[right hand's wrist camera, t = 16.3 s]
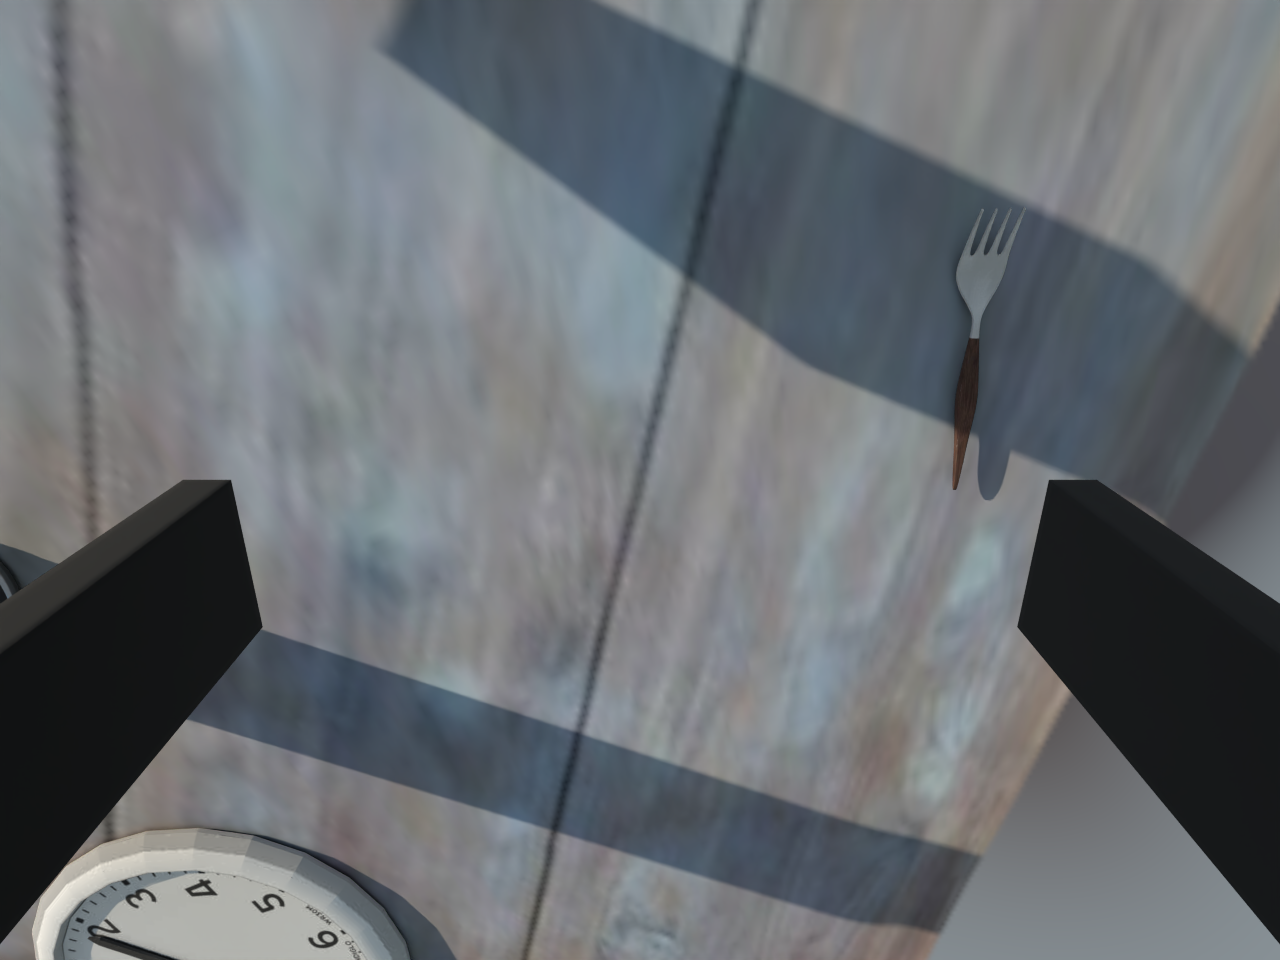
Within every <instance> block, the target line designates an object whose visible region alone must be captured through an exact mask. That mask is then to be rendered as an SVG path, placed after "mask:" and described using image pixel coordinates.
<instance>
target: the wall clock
mask: <svg viewBox="0 0 1280 960" xmlns="http://www.w3.org/2000/svg"><path fill="white" fill-rule="evenodd" d="M32 934H33V941H34V948H35V954H36V960H411V959H410V956H409V952H408V948H407V944H406V941H405V940H404V938H403V937H402V935H401V934H400V932H399V931H398V929H397V928H396V926H395V925H394V923H393V922H392V920H391V919H390V917H389V915H388V914H387V912H386V911H385V909H384V908H383V907H382V906H381V905H379V904H378V903H377V902H376V901H375V900H374V899H373V898H372V897H371V896H369V895H368V894H367V893H366V892H365V891H364V890H363V889H362V888H360V887H359V886H358V885H357V884H356V883H355V882H354V881H353V880H352V879H350V878H349V877H347V876H346V875H344V874H342V873H340V872H338V871H337V870H335V869H333V868H331V867H330V866H328V865H326V864H324V863H323V862H321V861H319V860H317V859H315V858H314V857H312V856H310V855H308V854H307V853H305V852H302V851H299V850H296V849H293V848H290V847H287V846H284V845H281V844H278V843H275V842H272V841H269V840H266V839H263V838H260V837H257V836H254V835H246V834H239V833H232V832H225V831H218V830H211V829H203V828H190V829H172V830H155V831H145V832H142V833H138V834H135V835H131V836H128V837H124V838H121V839H118V840H114V841H111V842H107V843H104V844H101V845H99V846H98V847H96V848H95V849H93V850H91V851H90V852H88V853H87V854H85V855H83V856H82V857H80V858H78V859H77V860H75V861H74V862H72V863H70V864H69V865H67V866H66V867H65V868H64V870H63V871H62V872H61V873H60V875H59V876H58V877H57V879H56V880H55V881H54V882H53V884H52V885H51V886H50V887H49V889H48V890H47V891H46V892H45V894H44V895H43V896H42V897H41V899H40V903H39V907H38V910H37V914H36V918H35V922H34V926H33V929H32Z"/></svg>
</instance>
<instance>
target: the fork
mask: <svg viewBox="0 0 1280 960" xmlns="http://www.w3.org/2000/svg"><path fill="white" fill-rule="evenodd" d="M1011 210H1012V209H1011V208H1010V209H1009V211H1008V213H1007V215H1006V217H1005V219H1004V221H1003V223H1002V225H1001V227H1000V229H999V231H998V233H997V235H996V238H995V240H994V242H993V244H992V247H991V249H990V251H989V252H988V254H986V255H984V248H985V245H986V242H987V239H988V236H989V233H990V230H991V227H992V224H993V221H994V218H995V216H996V213H997V208H996V209H995V211H994V213H993V215H992V217H991V219H990V222H989V224H988V226H987V228H986V230H985V232H984V235H983V237H982V239H981V241H980V244H979V246H978V248H977V250H976V252H975V254H974V255H970V251H971V247H972V244H973V241H974V237H975V234H976V231H977V228H978V225H979V222H980V219H981V216H982V214H983V212H984V209H981V211H980V214H979V216H978V218H977V220H976V222H975V225H974V227H973V229H972V231H971V233H970V236H969V238H968V240H967V243H966V245H965V248H964V251H963V253H962V256H961V258H960V261H959V263H958V267H957V271H956V281H957V286H958V289H959V291H960V293H961V295H962V297H963V299H964V301H965V302H966V304H967V306H968V308H969V310H970V313H971V316H972V327H971V332H970V337H969V341H968V345H967V349H966V353H965V357H964V361H963V365H962V369H961V373H960V377H959V381H958V386H957V391H956V399H955V428H954V460H953V490H956V488H957V485H958V482H959V478H960V474H961V469H962V465H963V460H964V456H965V451H966V447H967V442H968V438H969V434H970V430H971V426H972V422H973V418H974V413H975V409H976V403H977V395H978V372H979V329H980V321H981V317H982V315H983V312H984V310H985V308H986V306H987V305H988V303H989V301H990V300H991V298H992V296H993V295H994V293H995V291H996V290H997V288H998V286H999V284H1000V282H1001V280H1002V277H1003V275H1004V272H1005V269H1006V265H1007V261H1008V257H1009V253H1010V250H1011V247H1012V244H1013V241H1014V239H1015V236H1016V233H1017V230H1018V228H1019V225H1020V223H1021V220H1022V217H1023V215H1024V213H1025V211H1026V208H1025V207H1024V208H1023V210H1022V212H1021V214H1020V216H1019V218H1018V220H1017V222H1016V224H1015V226H1014V228H1013V230H1012V232H1011V234H1010V236H1009V238H1008V241H1007V243H1006V245H1005V247H1004V249H1003V251H1002V252H1001V254H999V255H998V254H997V250H998V246H999V243H1000V240H1001V237H1002V234H1003V232H1004V229H1005V226H1006V223H1007V221H1008V218H1009V215H1010V213H1011Z"/></svg>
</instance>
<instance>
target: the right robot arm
mask: <svg viewBox="0 0 1280 960" xmlns="http://www.w3.org/2000/svg"><path fill="white" fill-rule="evenodd" d="M262 627H263V626H262V622H261V617H260V612H259V608H258V603H257V599H256V594H255V589H254V585H253V580H252V575H251V571H250V566H249V561H248V557H247V552H246V548H245V543H244V538H243V534H242V529H241V524H240V520H239V515H238V510H237V506H236V501H235V497H234V492H233V487H232V483H231V480H182V481H181V482H179V483H178V484H176V485H175V486H173V487H172V488H171V489H169V490H168V491H166V492H165V493H163V494H162V495H160V496H159V497H157V498H156V499H154V500H153V501H151V502H150V503H148V504H147V505H145V506H144V507H142V508H141V509H139V510H138V511H137V512H135V513H134V514H132V515H131V516H129V517H128V518H126V519H125V520H123V521H122V522H120V523H119V524H117V525H116V526H114V527H113V528H111V529H110V530H108V531H107V532H105V533H104V534H102V535H101V536H100V537H98V538H97V539H95V540H94V541H92V542H91V543H89V544H88V545H86V546H85V547H83V548H82V549H80V550H79V551H77V552H76V553H74V554H73V555H71V556H70V557H68V558H67V559H66V560H64V561H63V562H61V563H60V564H58V565H57V566H55V567H54V568H52V569H51V570H49V571H48V572H46V573H45V574H43V575H42V576H40V577H39V578H37V579H36V580H34V581H33V582H32V583H30V584H29V585H27V586H26V587H24V588H23V589H21V590H20V591H18V592H17V593H15V594H14V595H12V596H11V597H9V598H8V599H6V600H5V601H3V602H2V603H0V944H1V942H2V941H3V940H4V939H5V938H6V936H7V935H8V934H9V933H10V932H11V930H12V929H13V928H14V927H15V926H16V924H17V923H18V922H19V921H20V919H21V918H22V917H23V916H24V915H25V913H26V912H27V911H28V910H29V909H30V907H31V906H32V905H33V904H34V903H35V901H36V900H37V899H38V898H39V897H40V895H41V894H42V893H43V892H44V890H45V889H46V888H47V887H48V886H49V884H50V883H51V882H52V881H53V880H54V878H55V877H56V876H57V875H58V874H59V872H60V871H61V870H62V869H63V868H64V866H65V865H66V864H67V863H68V861H69V860H70V859H71V858H72V857H73V855H74V854H75V853H76V852H77V851H78V849H79V848H80V847H81V846H82V845H83V843H84V842H85V841H86V840H87V839H88V837H89V836H90V835H91V834H92V832H93V831H94V830H95V829H96V828H97V826H98V825H99V824H100V823H101V822H102V820H103V819H104V818H105V817H106V816H107V814H108V813H109V812H110V811H111V810H112V808H113V807H114V806H115V805H116V803H117V802H118V801H119V800H120V799H121V797H122V796H123V795H124V794H125V793H126V791H127V790H128V789H129V788H130V787H131V785H132V784H133V783H134V782H135V781H136V779H137V778H138V777H139V776H140V775H141V773H142V772H143V771H144V770H145V768H146V767H147V766H148V765H149V764H150V762H151V761H152V760H153V759H154V758H155V756H156V755H157V754H158V753H159V752H160V750H161V749H162V748H163V747H164V746H165V744H166V743H167V742H168V741H169V739H170V738H171V737H172V736H173V735H174V733H175V732H176V731H177V730H178V729H179V727H180V726H181V725H182V724H183V723H184V721H185V720H186V719H187V718H188V717H189V715H190V714H191V713H192V712H193V710H194V709H195V708H196V707H197V706H198V704H199V703H200V702H201V701H202V700H203V698H204V697H205V696H206V695H207V694H208V692H209V691H210V690H211V689H212V688H213V686H214V685H215V684H216V683H217V681H218V680H219V679H220V678H221V677H222V675H223V674H224V673H225V672H226V671H227V669H228V668H229V667H230V666H231V665H232V663H233V662H234V661H235V660H236V659H237V657H238V656H239V655H240V654H241V652H242V651H243V650H244V649H245V648H246V646H247V645H248V644H249V643H250V642H251V640H252V639H253V638H254V637H255V636H256V634H257V633H258V632H259V631H260V630H261V628H262ZM1017 627H1018V628H1019V630H1020V631H1021V632H1022V633H1023V634H1024V636H1025V637H1026V638H1027V639H1028V640H1029V642H1030V643H1031V644H1032V645H1033V646H1034V648H1035V649H1036V650H1037V651H1038V652H1039V654H1040V655H1041V656H1042V657H1043V659H1044V660H1045V661H1046V662H1047V663H1048V665H1049V666H1050V667H1051V668H1052V669H1053V671H1054V672H1055V673H1056V674H1057V675H1058V677H1059V678H1060V679H1061V680H1062V681H1063V683H1064V684H1065V685H1066V686H1067V688H1068V689H1069V690H1070V691H1071V692H1072V694H1073V695H1074V696H1075V697H1076V698H1077V700H1078V701H1079V702H1080V703H1081V704H1082V706H1083V707H1084V708H1085V709H1086V710H1087V712H1088V713H1089V714H1090V715H1091V717H1092V718H1093V719H1094V720H1095V721H1096V723H1097V724H1098V725H1099V726H1100V727H1101V729H1102V730H1103V731H1104V732H1105V733H1106V735H1107V736H1108V737H1109V738H1110V739H1111V741H1112V742H1113V743H1114V744H1115V745H1116V747H1117V748H1118V749H1119V750H1120V752H1121V753H1122V754H1123V755H1124V756H1125V758H1126V759H1127V760H1128V761H1129V762H1130V764H1131V765H1132V766H1133V767H1134V768H1135V770H1136V771H1137V772H1138V773H1139V775H1140V776H1141V777H1142V778H1143V779H1144V781H1145V782H1146V783H1147V784H1148V785H1149V786H1150V788H1151V789H1152V790H1153V791H1154V793H1155V794H1156V795H1157V796H1158V797H1159V799H1160V800H1161V801H1162V802H1163V803H1164V805H1165V806H1166V807H1167V808H1168V810H1169V811H1170V812H1171V813H1172V814H1173V815H1174V817H1175V818H1176V819H1177V820H1178V822H1179V823H1180V824H1181V825H1182V826H1183V828H1184V829H1185V830H1186V831H1187V832H1188V834H1189V835H1190V836H1191V837H1192V839H1193V840H1194V841H1195V842H1196V843H1197V845H1198V846H1199V847H1200V848H1201V849H1202V851H1203V852H1204V853H1205V854H1206V855H1207V857H1208V858H1209V859H1210V860H1211V861H1212V863H1213V864H1214V865H1215V866H1216V867H1217V869H1218V870H1219V871H1220V872H1221V874H1222V875H1223V876H1224V877H1225V878H1226V880H1227V881H1228V882H1229V883H1230V884H1231V886H1232V887H1233V888H1234V889H1235V890H1236V892H1237V893H1238V894H1239V895H1240V897H1241V898H1242V899H1243V900H1244V901H1245V903H1246V904H1247V905H1248V906H1249V907H1250V909H1251V910H1252V911H1253V912H1254V913H1255V915H1256V916H1257V917H1258V918H1259V919H1260V921H1261V922H1262V923H1263V924H1264V926H1265V927H1266V928H1267V929H1268V930H1269V932H1270V933H1271V934H1272V935H1273V936H1274V938H1275V939H1276V940H1277V941H1278V942H1279V944H1280V603H1278V602H1277V601H1275V600H1274V599H1272V598H1271V597H1269V596H1268V595H1266V594H1265V593H1263V592H1262V591H1260V590H1259V589H1257V588H1256V587H1254V586H1253V585H1251V584H1250V583H1248V582H1247V581H1246V580H1244V579H1243V578H1241V577H1240V576H1238V575H1237V574H1235V573H1234V572H1232V571H1231V570H1229V569H1228V568H1226V567H1225V566H1223V565H1222V564H1220V563H1219V562H1217V561H1216V560H1214V559H1213V558H1212V557H1210V556H1209V555H1207V554H1206V553H1204V552H1203V551H1201V550H1200V549H1198V548H1197V547H1195V546H1194V545H1192V544H1191V543H1189V542H1188V541H1186V540H1185V539H1183V538H1182V537H1180V536H1179V535H1177V534H1176V533H1175V532H1173V531H1172V530H1170V529H1169V528H1167V527H1166V526H1164V525H1163V524H1161V523H1160V522H1158V521H1157V520H1155V519H1154V518H1152V517H1151V516H1149V515H1148V514H1146V513H1145V512H1143V511H1142V510H1141V509H1139V508H1138V507H1136V506H1135V505H1133V504H1132V503H1130V502H1129V501H1127V500H1126V499H1124V498H1123V497H1121V496H1120V495H1118V494H1117V493H1115V492H1114V491H1112V490H1111V489H1109V488H1108V487H1107V486H1105V485H1104V484H1102V483H1101V482H1099V481H1098V480H1049V483H1048V487H1047V492H1046V496H1045V501H1044V506H1043V510H1042V515H1041V520H1040V524H1039V529H1038V534H1037V538H1036V543H1035V548H1034V552H1033V557H1032V561H1031V566H1030V571H1029V575H1028V580H1027V585H1026V589H1025V594H1024V599H1023V603H1022V608H1021V612H1020V617H1019V622H1018V626H1017Z"/></svg>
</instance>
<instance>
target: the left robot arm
mask: <svg viewBox="0 0 1280 960" xmlns="http://www.w3.org/2000/svg"><path fill="white" fill-rule="evenodd" d="M18 591H20V590H19V588H18V585H17V583H16V581H15V580H14V578H13V576H12V575H11V573H10V572H9V571H8V569H7V568H6V567H5V566H4V564H3V563H2V562H1V561H0V603H2V602H3V601H5V600H6V599H8V598H9V597H11V596H12V595H14V594H15V593H17V592H18Z"/></svg>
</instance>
